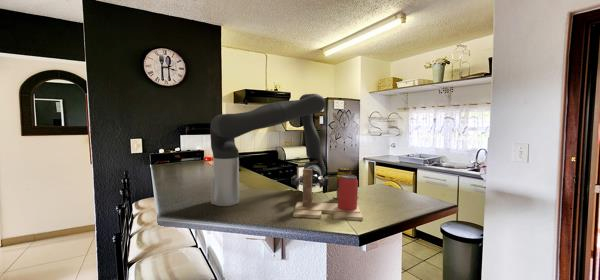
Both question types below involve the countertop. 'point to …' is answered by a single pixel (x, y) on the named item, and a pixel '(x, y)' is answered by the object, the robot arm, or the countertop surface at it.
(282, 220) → the countertop surface
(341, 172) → the condiment
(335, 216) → the broken strip
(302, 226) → the countertop surface
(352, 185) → the beer can
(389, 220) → the countertop surface
